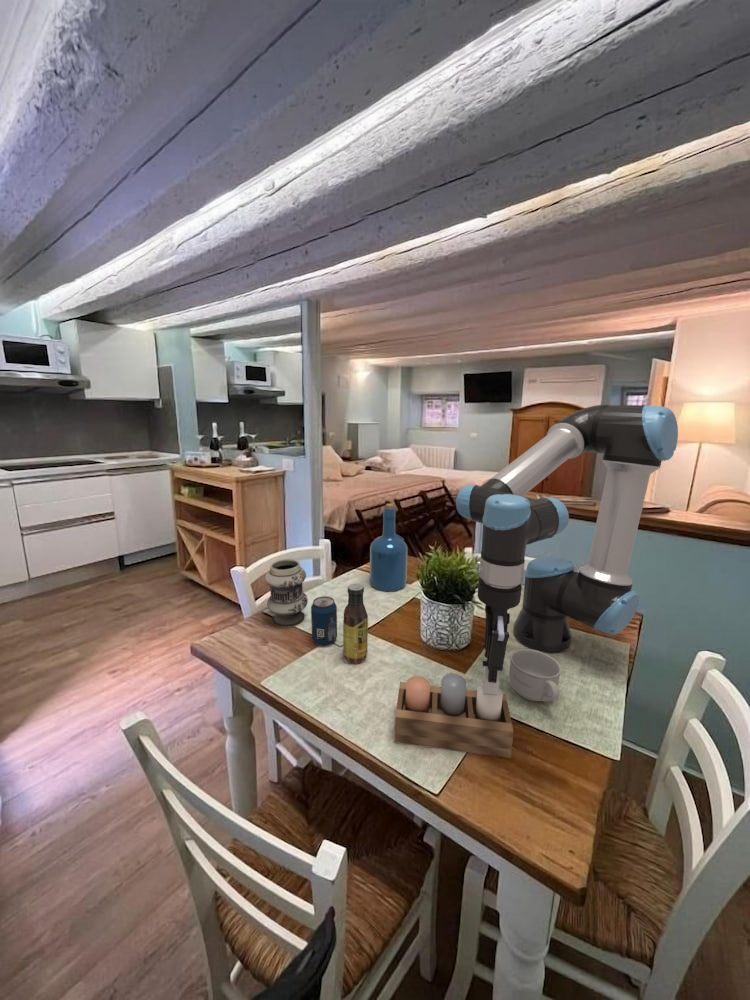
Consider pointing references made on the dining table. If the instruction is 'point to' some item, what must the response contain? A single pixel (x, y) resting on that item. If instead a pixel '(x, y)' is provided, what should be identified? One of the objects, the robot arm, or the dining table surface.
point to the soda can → (324, 621)
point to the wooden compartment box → (453, 726)
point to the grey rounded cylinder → (453, 694)
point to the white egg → (488, 705)
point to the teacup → (534, 675)
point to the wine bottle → (388, 556)
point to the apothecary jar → (286, 593)
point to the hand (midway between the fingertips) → (489, 691)
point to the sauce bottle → (355, 626)
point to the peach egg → (417, 694)
